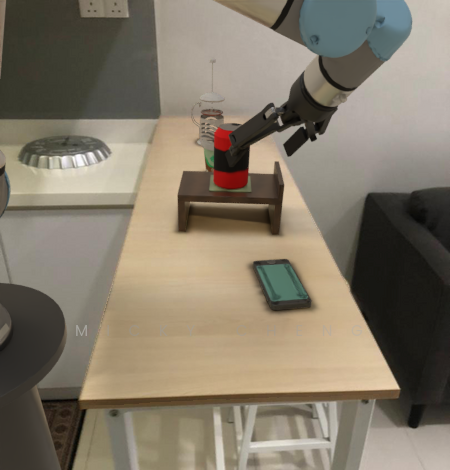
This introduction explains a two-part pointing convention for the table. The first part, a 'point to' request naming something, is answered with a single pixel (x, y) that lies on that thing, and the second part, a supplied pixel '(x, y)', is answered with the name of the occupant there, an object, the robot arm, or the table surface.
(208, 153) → the food container
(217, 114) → the french press
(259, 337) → the table surface
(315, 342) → the table surface
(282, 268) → the smartphone
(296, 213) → the table surface
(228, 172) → the soda can
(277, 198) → the shelf
